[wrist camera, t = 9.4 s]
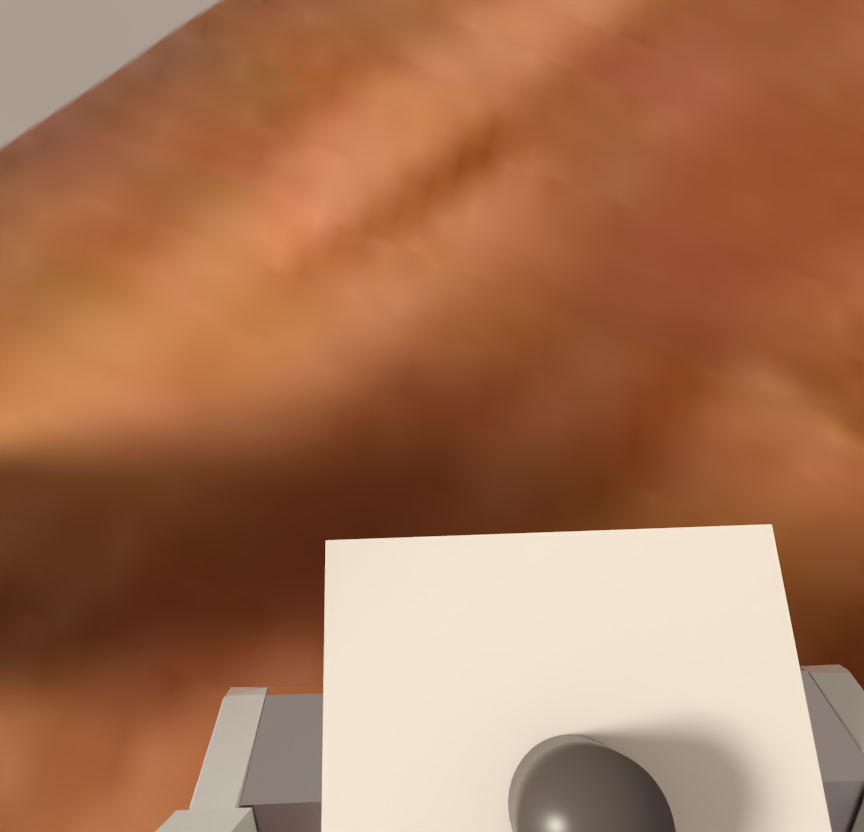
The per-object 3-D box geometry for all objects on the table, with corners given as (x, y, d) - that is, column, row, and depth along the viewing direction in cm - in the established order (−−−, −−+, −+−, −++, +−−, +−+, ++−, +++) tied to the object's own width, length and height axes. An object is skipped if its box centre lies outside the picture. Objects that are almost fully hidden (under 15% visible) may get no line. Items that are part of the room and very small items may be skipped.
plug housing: (643, 878, 12) (989, 1252, 5) (381, 888, 12) (291, 1282, 5) (609, 586, 14) (823, 504, 6) (378, 595, 14) (308, 522, 6)
